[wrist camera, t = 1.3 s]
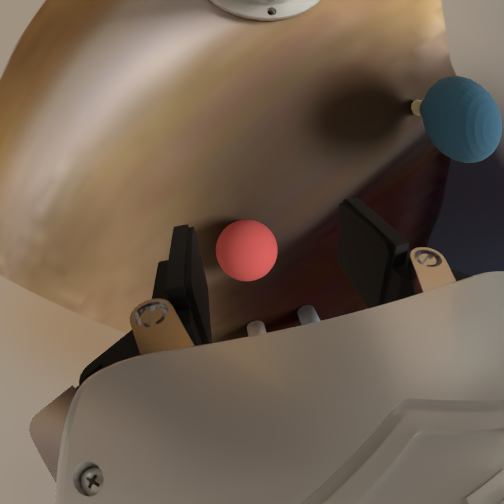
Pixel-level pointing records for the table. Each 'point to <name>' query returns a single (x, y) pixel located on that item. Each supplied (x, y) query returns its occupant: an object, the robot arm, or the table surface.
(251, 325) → the ivory pin
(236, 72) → the table surface
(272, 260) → the ball
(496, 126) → the blue ovoid piece
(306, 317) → the slate-blue pin
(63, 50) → the table surface
